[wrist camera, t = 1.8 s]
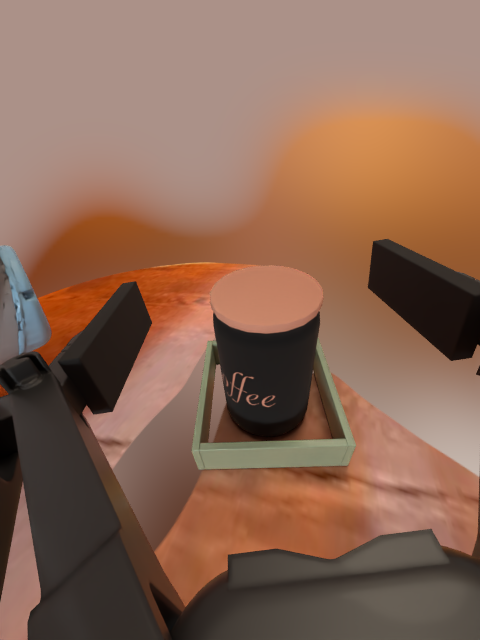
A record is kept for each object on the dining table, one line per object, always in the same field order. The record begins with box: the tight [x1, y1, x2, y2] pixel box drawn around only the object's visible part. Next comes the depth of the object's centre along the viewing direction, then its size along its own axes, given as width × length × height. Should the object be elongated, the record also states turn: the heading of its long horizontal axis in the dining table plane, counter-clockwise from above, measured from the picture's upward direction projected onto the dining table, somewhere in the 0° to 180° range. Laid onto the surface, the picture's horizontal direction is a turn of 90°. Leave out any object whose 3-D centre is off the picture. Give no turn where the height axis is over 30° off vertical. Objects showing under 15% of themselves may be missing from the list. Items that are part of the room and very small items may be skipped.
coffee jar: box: [210, 265, 323, 437], centre depth 30 cm, size 11×11×18 cm
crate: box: [192, 338, 356, 470], centre depth 34 cm, size 17×17×4 cm
